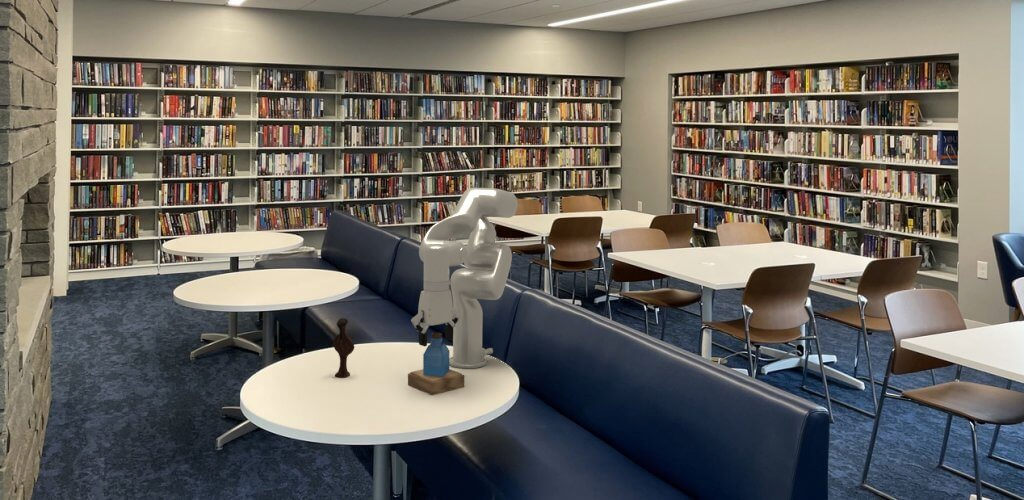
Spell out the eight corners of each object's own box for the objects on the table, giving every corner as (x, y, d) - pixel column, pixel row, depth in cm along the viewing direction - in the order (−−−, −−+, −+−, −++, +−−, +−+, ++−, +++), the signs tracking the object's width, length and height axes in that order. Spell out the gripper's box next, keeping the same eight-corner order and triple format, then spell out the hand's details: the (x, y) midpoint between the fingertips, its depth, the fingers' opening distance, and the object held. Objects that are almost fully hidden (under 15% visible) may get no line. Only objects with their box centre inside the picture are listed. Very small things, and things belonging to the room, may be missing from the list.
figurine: (358, 374, 245) (357, 318, 242) (349, 379, 240) (349, 322, 238) (338, 372, 248) (337, 316, 245) (329, 376, 243) (328, 319, 240)
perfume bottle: (443, 376, 232) (443, 337, 230) (423, 375, 233) (423, 335, 231) (449, 370, 238) (449, 331, 236) (429, 369, 239) (429, 330, 237)
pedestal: (439, 377, 244) (439, 364, 244) (464, 386, 236) (464, 373, 235) (407, 385, 236) (407, 372, 236) (432, 395, 228) (432, 381, 227)
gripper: (451, 280, 240) (451, 335, 243) (404, 287, 228) (404, 345, 231) (467, 284, 235) (466, 340, 237) (420, 291, 223) (419, 350, 225)
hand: (436, 342), depth 234 cm, fingers open, 9 cm apart
